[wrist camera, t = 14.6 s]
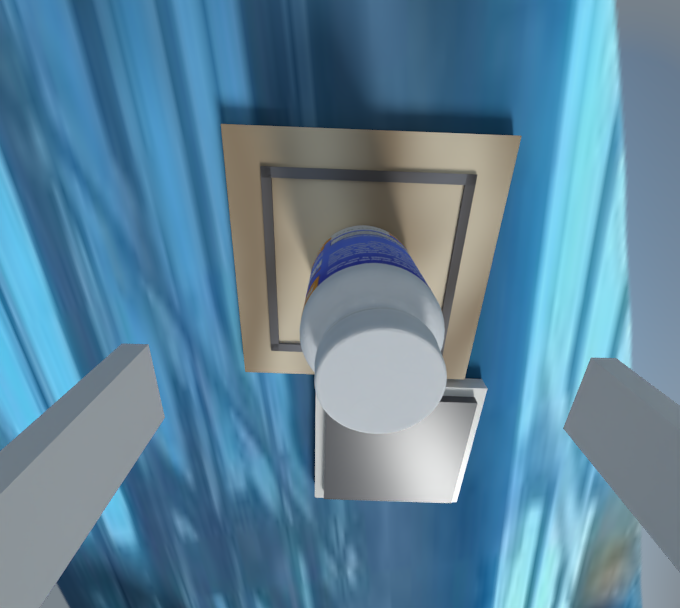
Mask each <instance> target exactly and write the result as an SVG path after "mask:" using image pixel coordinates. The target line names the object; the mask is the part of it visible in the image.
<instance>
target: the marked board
mask: <svg viewBox="0 0 680 608" xmlns="http://www.w3.org/2000/svg"><path fill="white" fill-rule="evenodd" d="M221 131H222V141H223V151H224V161H225V172H226V182H227V192H228V202H229V212H230V222H231V232H232V242H233V252H234V262H235V272H236V283H237V293H238V303H239V313H240V323H241V333H242V343H243V353H244V363H245V372H265V373H293V374H315V373H314V371H313V370H312V369H311V368H310V366H309V364H308V363H307V361H306V359H305V356H304V354H303V351H302V348H301V344H300V323H301V317H302V312H303V308H304V303H305V298H306V293H307V289H308V284H309V280H310V275H311V270H312V266H313V263H314V260H315V257H316V255H317V253H318V251H319V249H320V247H321V246H322V245H323V243H324V242H325V241H326V240H327V239H328V238H329V237H331V236H332V235H333V234H335V233H336V232H338V231H340V230H342V229H345V228H348V227H352V226H359V225H367V226H373V227H377V228H380V229H383V230H385V231H387V232H389V233H391V234H392V235H393V236H395V237H396V238H397V239H398V240H399V241H400V242H401V243H402V244H403V245H404V247H405V248H406V250H407V251H408V253H409V255H410V256H411V258H412V260H413V261H414V263H415V265H416V266H417V268H418V270H419V271H420V273H421V274H422V276H423V278H424V279H425V281H426V283H427V284H428V286H429V287H430V289H431V291H432V292H433V294H434V296H435V298H436V299H437V301H438V303H439V305H440V308H441V311H442V314H443V318H444V327H445V333H444V341H443V346H442V349H441V354H442V356H443V359H444V362H445V365H446V372H447V379H463V380H465V375H466V371H467V367H468V363H469V358H470V354H471V350H472V345H473V341H474V337H475V333H476V328H477V324H478V320H479V315H480V311H481V307H482V303H483V298H484V294H485V290H486V285H487V281H488V277H489V273H490V268H491V264H492V260H493V255H494V251H495V247H496V243H497V238H498V234H499V230H500V226H501V221H502V217H503V213H504V208H505V204H506V200H507V196H508V191H509V187H510V183H511V178H512V174H513V170H514V166H515V161H516V157H517V153H518V148H519V144H520V140H521V136H513V135H488V134H462V133H437V132H412V131H387V130H361V129H336V128H311V127H286V126H260V125H235V124H221Z"/></svg>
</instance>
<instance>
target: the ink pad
mask: <svg viewBox="0 0 680 608" xmlns="http://www.w3.org/2000/svg"><path fill="white" fill-rule="evenodd" d="M486 392H487V387H486V385H485V384H484V382H483V380H482V379H469V378H465V380H463V379H447V382H446V388H445V391H444V394H443V396H442V398H441V400H440V402H439V403H438V405H437V406H436V408H435V409H434V410H433V411H432V412H431V413H430V414H429V415H428V416H427V417H426V418H424V419H423V420H422V421H420V422H418V423H417V424H415V425H413V426H411V427H409V428H406V429H403V430H400V431H397V432H392V433H383V434H372V433H364V432H359V431H355V430H352V429H349V428H347V427H345V426H343V425H341V424H339V423H338V422H336V421H335V420H334V419H332V418H331V417H330V416H329V415H328V414H327V413H326V411H325V410H324V409H323V408H322V406H321V404H320V402H319V400H318V399H317V395H316V412H315V497H319V498H324V499H341V500H371V501H401V502H431V503H451V502H457V499H458V495H459V491H460V487H461V484H462V480H463V476H464V473H465V469H466V465H467V462H468V458H469V454H470V451H471V447H472V443H473V440H474V436H475V432H476V429H477V425H478V421H479V418H480V414H481V410H482V407H483V403H484V399H485V396H486Z"/></svg>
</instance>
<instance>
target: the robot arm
mask: <svg viewBox="0 0 680 608" xmlns="http://www.w3.org/2000/svg"><path fill="white" fill-rule="evenodd" d="M164 418H165V417H164V413H163V408H162V403H161V399H160V394H159V390H158V385H157V381H156V376H155V372H154V367H153V363H152V358H151V354H150V349H149V345H148V344H121V345H120V346H119V347H118V348H117V349H115V350H114V351H113V352H112V353H111V354H110V355H109V356H108V357H106V358H105V359H104V360H103V361H102V362H101V363H100V364H99V365H97V366H96V367H95V368H94V369H93V370H92V371H91V372H89V373H88V374H87V375H86V376H85V377H84V378H83V379H82V380H80V381H79V382H78V383H77V384H76V385H75V386H74V387H73V388H71V389H70V390H69V391H68V392H67V393H66V394H65V395H63V396H62V397H61V398H60V399H59V400H58V401H57V402H56V403H54V404H53V405H52V406H51V407H50V408H49V409H48V410H47V411H45V412H44V413H43V414H42V415H41V416H40V417H39V418H37V419H36V420H35V421H34V422H33V423H32V424H31V425H30V426H28V427H27V428H26V429H25V430H24V431H23V432H22V433H20V434H19V435H18V436H17V437H16V438H15V439H14V440H13V441H11V442H10V443H9V444H8V445H7V446H6V447H5V448H4V449H2V450H1V451H0V608H40V607H41V605H42V604H43V602H44V601H45V599H46V598H47V596H48V595H49V593H50V592H51V590H52V589H53V587H54V586H55V584H56V583H57V581H58V579H59V578H60V576H61V575H62V573H63V572H64V570H65V569H66V567H67V566H68V564H69V563H70V561H71V560H72V558H73V557H74V555H75V554H76V552H77V551H78V549H79V547H80V546H81V544H82V543H83V541H84V540H85V538H86V537H87V535H88V534H89V532H90V531H91V529H92V528H93V526H94V525H95V523H96V522H97V520H98V519H99V517H100V515H101V514H102V512H103V511H104V509H105V508H106V506H107V505H108V503H109V502H110V500H111V499H112V497H113V496H114V494H115V493H116V491H117V490H118V488H119V487H120V485H121V483H122V482H123V480H124V479H125V477H126V476H127V474H128V473H129V471H130V470H131V468H132V467H133V465H134V464H135V462H136V461H137V459H138V458H139V456H140V455H141V453H142V451H143V450H144V448H145V447H146V445H147V444H148V442H149V441H150V439H151V438H152V436H153V435H154V433H155V432H156V430H157V429H158V427H159V426H160V424H161V423H162V421H163V419H164ZM563 429H564V430H565V431H566V432H567V433H568V435H569V436H570V437H571V438H572V440H573V441H574V442H575V443H576V445H577V446H578V447H579V448H580V450H581V451H582V452H583V453H584V454H585V456H586V457H587V458H588V459H589V461H590V462H591V463H592V464H593V466H594V467H595V468H596V469H597V471H598V472H599V473H600V474H601V476H602V477H603V478H604V479H605V480H606V482H607V483H608V484H609V485H610V487H611V488H612V489H613V490H614V492H615V493H616V494H617V495H618V497H619V498H620V499H621V500H622V501H623V503H624V504H625V505H626V506H627V508H628V509H629V510H630V511H631V513H632V514H633V515H634V516H635V518H636V519H637V520H638V521H639V522H640V524H641V525H642V526H643V527H644V529H645V530H646V531H647V532H648V533H649V535H650V536H651V537H652V538H653V540H654V541H655V542H656V543H657V545H658V546H659V547H660V548H661V550H662V551H663V552H664V553H665V555H666V556H667V557H668V558H669V560H670V561H671V562H672V563H673V564H674V566H675V567H676V568H677V569H678V571H679V572H680V406H679V405H678V404H677V403H675V402H674V401H672V400H671V399H670V398H669V397H667V396H666V395H665V394H663V393H662V392H660V391H659V390H658V389H656V388H655V387H654V386H652V385H651V384H650V383H648V382H647V381H646V380H644V379H643V378H642V377H640V376H639V375H638V374H636V373H635V372H634V371H632V370H631V369H630V368H628V367H627V366H626V365H624V364H623V363H622V362H620V361H619V360H618V359H616V358H591V359H590V362H589V364H588V367H587V369H586V372H585V374H584V377H583V379H582V382H581V384H580V387H579V390H578V392H577V395H576V397H575V400H574V402H573V405H572V407H571V410H570V412H569V415H568V418H567V420H566V423H565V425H564V428H563Z"/></svg>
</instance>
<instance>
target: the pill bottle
mask: <svg viewBox="0 0 680 608" xmlns="http://www.w3.org/2000/svg"><path fill="white" fill-rule="evenodd" d="M444 333H445V327H444V318H443V314H442V311H441V308H440V305H439V303H438V301H437V299H436V298H435V296H434V294H433V292H432V291H431V289H430V287H429V286H428V284H427V283H426V281H425V279H424V278H423V276H422V274H421V273H420V271H419V270H418V268H417V266H416V265H415V263H414V261H413V260H412V258H411V256H410V255H409V253H408V251H407V250H406V248H405V247H404V245H403V244H402V243H401V242H400V241H399V240H398V239H397V238H396V237H395V236H393V235H392V234H391V233H389V232H387V231H385V230H383V229H380V228H377V227H373V226H367V225H359V226H352V227H348V228H345V229H342V230H340V231H338V232H336V233H335V234H333V235H332V236H331V237H329V238H328V239H327V240H326V241H325V242H324V243H323V245H322V246H321V247H320V249H319V251H318V253H317V255H316V257H315V260H314V263H313V266H312V270H311V275H310V280H309V284H308V289H307V293H306V298H305V303H304V308H303V312H302V317H301V323H300V344H301V348H302V351H303V354H304V356H305V359H306V361H307V363H308V364H309V366H310V368H311V369H312V370H313V371H314V373H315V376H314V385H315V391H316V395H317V399H318V400H319V402H320V404H321V406H322V408H323V409H324V410H325V411H326V413H327V414H328V415H329V416H330V417H331V418H332V419H334V420H335V421H336V422H338V423H339V424H341V425H343V426H345V427H347V428H349V429H352V430H355V431H359V432H364V433H372V434H383V433H392V432H397V431H400V430H403V429H406V428H409V427H411V426H413V425H415V424H417V423H418V422H420V421H422V420H423V419H424V418H426V417H427V416H428V415H429V414H430V413H431V412H432V411H433V410H434V409H435V408H436V406H437V405H438V403H439V402H440V400H441V398H442V396H443V394H444V391H445V388H446V382H447V372H446V365H445V362H444V359H443V356H442V354H441V349H442V346H443V341H444Z"/></svg>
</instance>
